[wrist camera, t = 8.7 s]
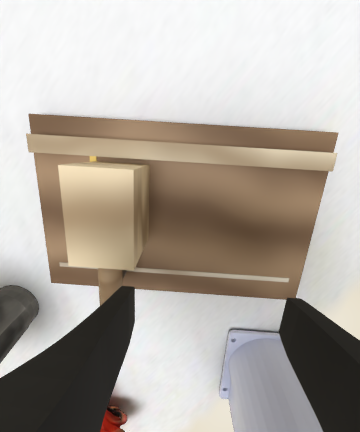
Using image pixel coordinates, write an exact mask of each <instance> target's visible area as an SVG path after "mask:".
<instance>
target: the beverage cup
mask: <svg viewBox="0 0 360 432" xmlns="http://www.w3.org/2000/svg"><path fill="white" fill-rule="evenodd" d="M38 310H39V307H38V302H37V300H36V298H35V297H34V296H33V295H32V294H31V293H30V292H29V291H27V290H26V289H24V288H22V287H19V286H12V285H10V286H5V287H3V288H1V289H0V363H1V362H2V360H3V359H4V358H5V357H6V355H7V354H8V353H9V351H10V350H11V349H12V348H13V346H14V345H15V344H16V342H17V341H18V340H19V338H20V337H21V336H22V335H23V333H24V332H25V331H26V329H27V328H28V326H29V324H30V323H31V322H32V320H33V319H34V318H35V316H36V315H37V313H38Z"/></svg>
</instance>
